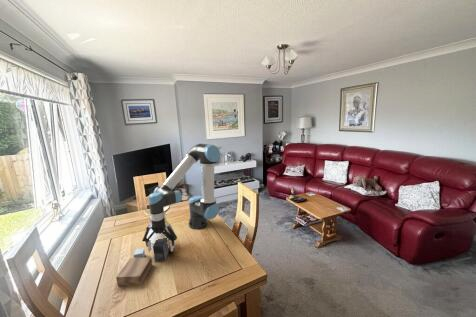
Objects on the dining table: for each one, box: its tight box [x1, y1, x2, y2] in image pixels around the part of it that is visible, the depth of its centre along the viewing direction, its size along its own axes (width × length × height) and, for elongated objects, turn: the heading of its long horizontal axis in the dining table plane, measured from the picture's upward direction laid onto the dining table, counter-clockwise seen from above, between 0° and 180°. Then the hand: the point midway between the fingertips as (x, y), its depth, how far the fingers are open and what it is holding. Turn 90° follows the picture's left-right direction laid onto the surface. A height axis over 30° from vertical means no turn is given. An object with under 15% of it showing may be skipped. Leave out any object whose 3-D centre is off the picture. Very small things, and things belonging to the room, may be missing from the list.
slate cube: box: [133, 248, 146, 258], centre depth 120 cm, size 5×5×5 cm
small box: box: [152, 238, 171, 262], centre depth 122 cm, size 11×6×10 cm, turn 5°
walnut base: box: [115, 256, 153, 287], centre depth 108 cm, size 12×14×5 cm
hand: (161, 250), depth 122 cm, fingers open, 13 cm apart
